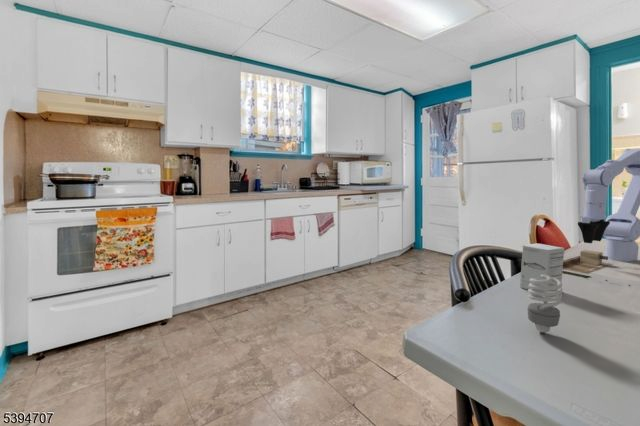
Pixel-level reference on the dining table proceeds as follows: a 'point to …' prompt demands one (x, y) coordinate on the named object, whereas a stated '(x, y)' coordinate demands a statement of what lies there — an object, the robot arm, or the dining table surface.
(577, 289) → the dining table surface
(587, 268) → the board
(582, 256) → the marking gauge
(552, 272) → the supplement box
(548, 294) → the light bulb
